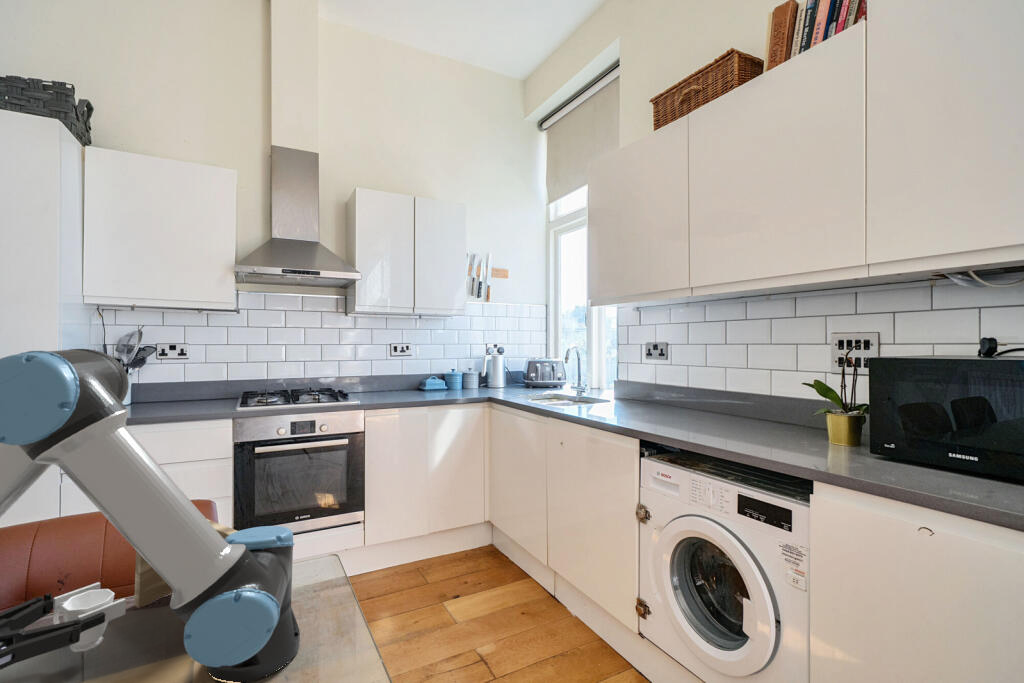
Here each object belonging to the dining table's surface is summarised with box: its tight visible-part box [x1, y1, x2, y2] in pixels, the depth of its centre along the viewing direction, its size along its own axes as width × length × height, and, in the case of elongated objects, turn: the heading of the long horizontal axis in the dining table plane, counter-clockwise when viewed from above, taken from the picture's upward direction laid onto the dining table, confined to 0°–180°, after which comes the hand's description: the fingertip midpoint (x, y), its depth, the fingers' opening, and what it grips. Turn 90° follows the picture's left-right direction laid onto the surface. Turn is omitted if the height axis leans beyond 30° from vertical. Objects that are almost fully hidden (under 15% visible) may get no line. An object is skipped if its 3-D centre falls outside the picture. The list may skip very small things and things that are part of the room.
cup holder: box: [133, 518, 238, 609], centre depth 98 cm, size 24×9×19 cm, turn 62°
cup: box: [52, 588, 116, 653], centre depth 83 cm, size 7×10×8 cm
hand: (111, 597), depth 87 cm, fingers closed on cup, 9 cm apart
